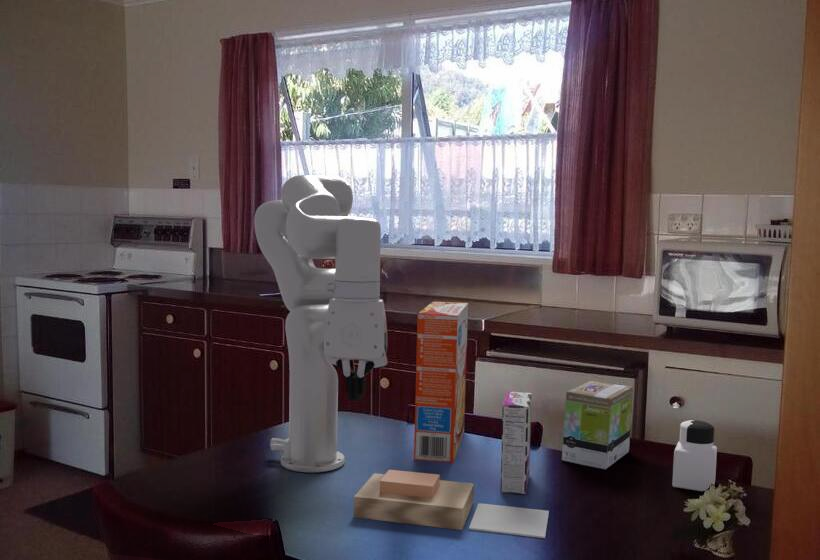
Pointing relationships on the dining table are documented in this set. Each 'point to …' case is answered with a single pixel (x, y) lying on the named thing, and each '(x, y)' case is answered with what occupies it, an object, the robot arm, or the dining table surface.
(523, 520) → the mat
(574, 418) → the tea box
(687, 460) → the medicine bottle
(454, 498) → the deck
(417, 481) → the block
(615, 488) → the dining table surface
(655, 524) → the dining table surface
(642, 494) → the dining table surface
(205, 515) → the dining table surface
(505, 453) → the candy bar box
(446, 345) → the pasta box
